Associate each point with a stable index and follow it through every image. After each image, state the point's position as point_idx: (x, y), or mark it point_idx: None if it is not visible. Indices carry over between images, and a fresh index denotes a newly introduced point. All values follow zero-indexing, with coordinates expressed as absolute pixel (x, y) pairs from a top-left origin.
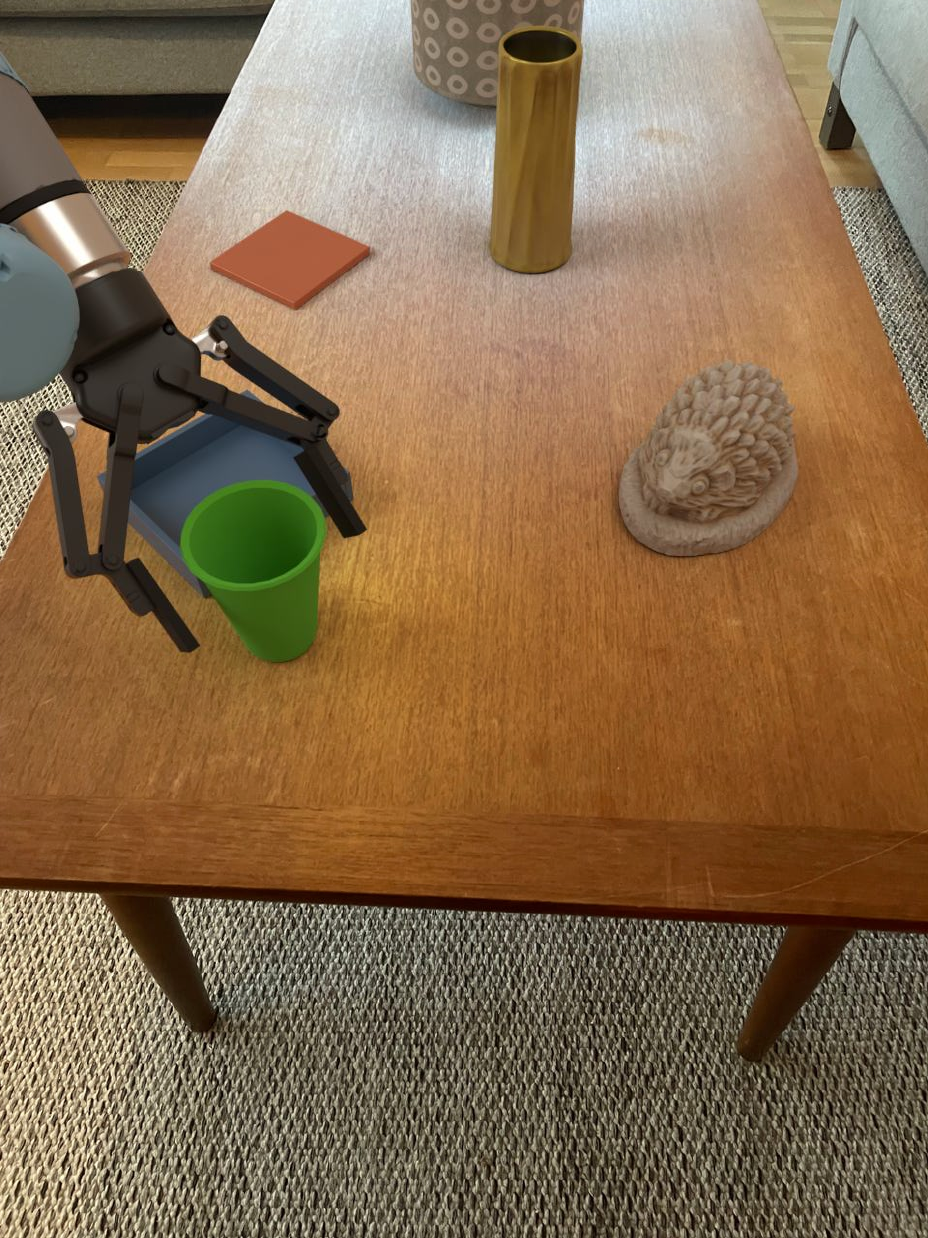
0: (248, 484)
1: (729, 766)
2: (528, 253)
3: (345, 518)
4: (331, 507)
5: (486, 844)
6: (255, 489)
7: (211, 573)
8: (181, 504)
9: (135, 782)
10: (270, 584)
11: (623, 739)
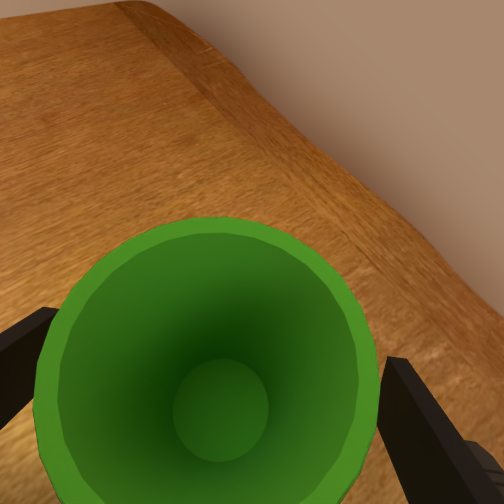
0: (80, 497)
1: (123, 64)
2: None
3: (39, 336)
4: (21, 380)
5: (272, 135)
6: (84, 473)
7: (282, 463)
8: None
9: (473, 392)
10: (289, 234)
11: (140, 109)
